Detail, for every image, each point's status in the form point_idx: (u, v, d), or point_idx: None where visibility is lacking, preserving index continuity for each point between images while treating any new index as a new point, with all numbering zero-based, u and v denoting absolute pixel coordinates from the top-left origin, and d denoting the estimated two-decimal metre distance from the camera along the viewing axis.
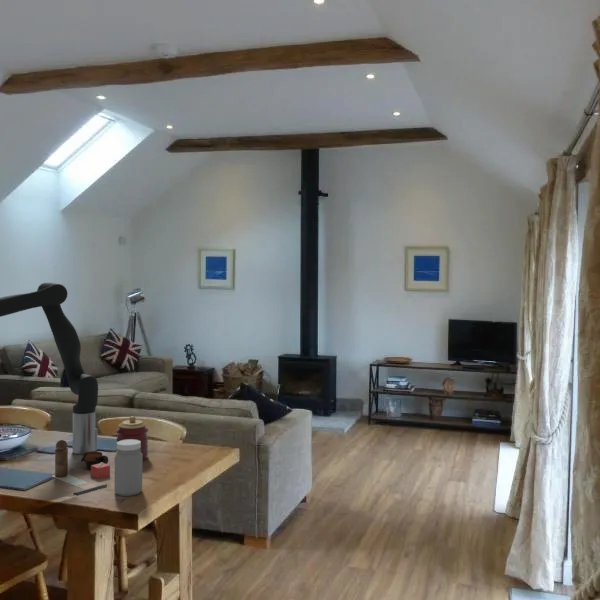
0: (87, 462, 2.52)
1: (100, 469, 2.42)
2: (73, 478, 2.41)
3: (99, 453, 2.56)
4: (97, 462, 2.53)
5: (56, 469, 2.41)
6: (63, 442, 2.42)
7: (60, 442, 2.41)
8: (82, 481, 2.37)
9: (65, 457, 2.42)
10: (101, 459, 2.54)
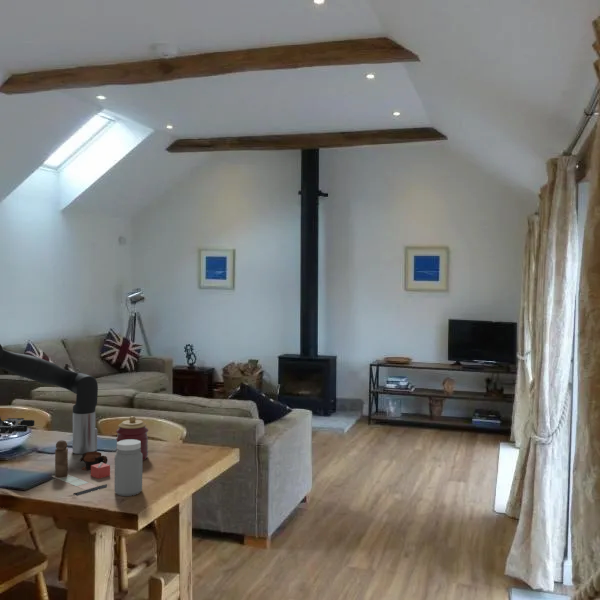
0: (86, 462, 2.51)
1: (100, 469, 2.42)
2: (73, 478, 2.41)
3: (98, 453, 2.56)
4: (96, 462, 2.52)
5: (56, 469, 2.41)
6: (63, 442, 2.42)
7: (60, 442, 2.41)
8: (82, 481, 2.37)
9: (65, 457, 2.42)
10: (100, 459, 2.54)
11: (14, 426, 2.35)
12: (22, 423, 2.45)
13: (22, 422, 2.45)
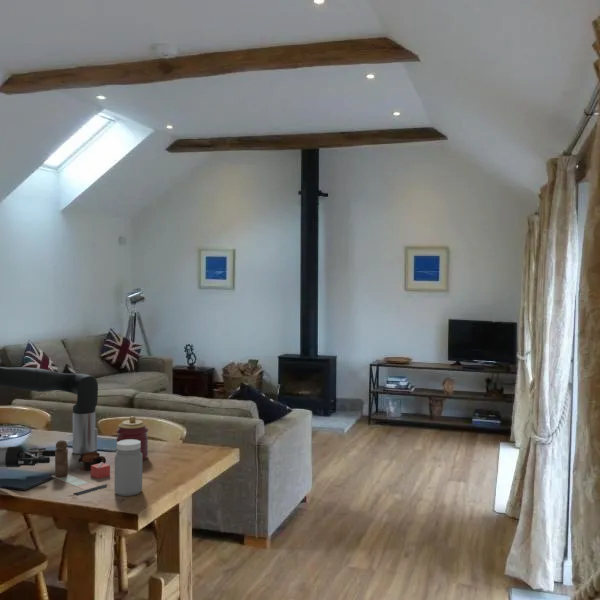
0: (84, 463, 2.50)
1: (100, 469, 2.42)
2: (73, 478, 2.41)
3: (96, 454, 2.55)
4: (94, 463, 2.52)
5: (56, 469, 2.41)
6: (63, 442, 2.42)
7: (60, 442, 2.41)
8: (82, 481, 2.37)
9: (65, 457, 2.42)
10: (98, 460, 2.53)
11: (37, 458, 2.37)
12: (44, 453, 2.46)
13: (44, 452, 2.46)
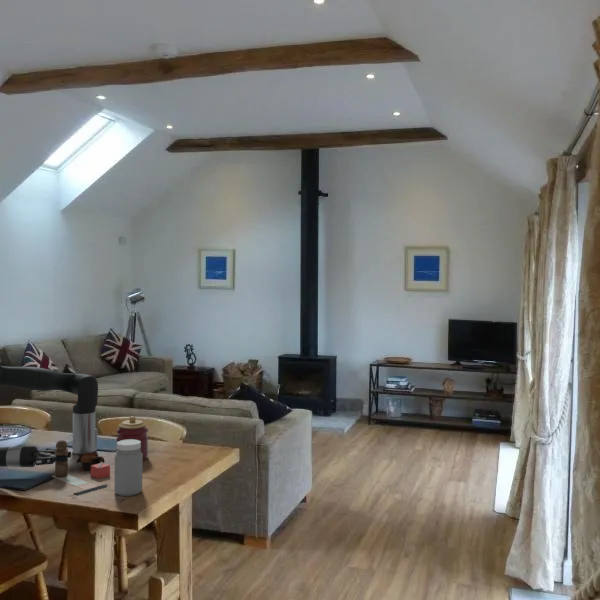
0: (83, 463, 2.50)
1: (100, 469, 2.42)
2: (73, 478, 2.41)
3: (95, 454, 2.54)
4: (93, 463, 2.51)
5: (56, 469, 2.41)
6: (63, 442, 2.42)
7: (60, 442, 2.41)
8: (82, 481, 2.37)
9: None
10: (97, 460, 2.52)
11: (55, 456, 2.39)
12: None
13: None
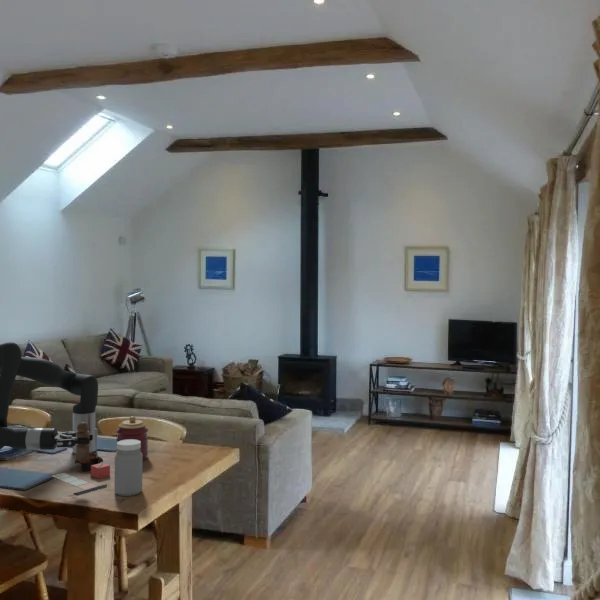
0: (81, 464, 2.49)
1: (100, 469, 2.42)
2: (73, 478, 2.41)
3: (93, 455, 2.54)
4: (92, 464, 2.50)
5: (77, 452, 2.31)
6: (85, 424, 2.31)
7: (82, 424, 2.31)
8: (82, 481, 2.37)
9: None
10: (96, 461, 2.52)
11: (77, 438, 2.29)
12: None
13: None
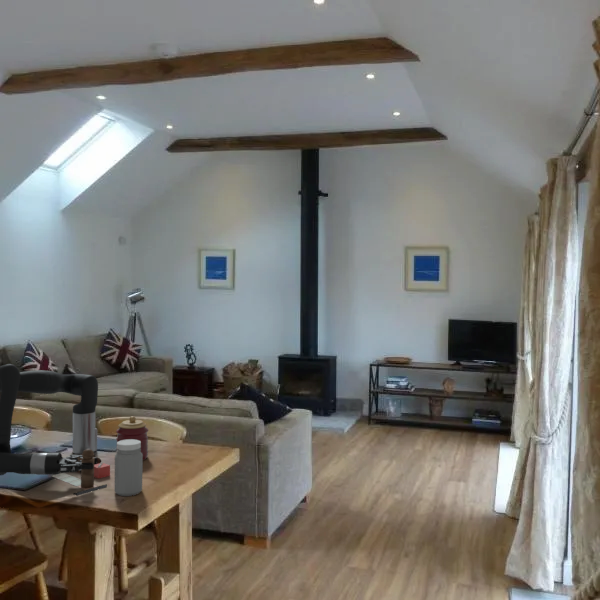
0: None
1: (100, 469, 2.42)
2: (73, 478, 2.41)
3: None
4: None
5: (82, 479, 2.30)
6: (90, 451, 2.31)
7: (87, 451, 2.30)
8: None
9: None
10: None
11: (80, 464, 2.28)
12: None
13: None
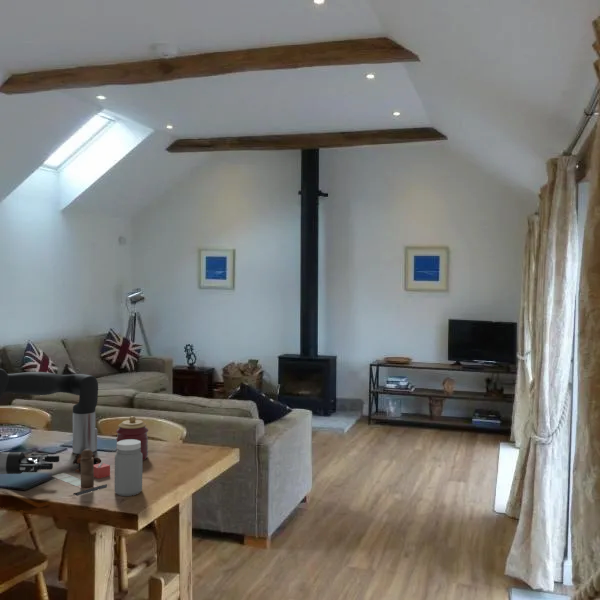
0: (80, 464, 2.48)
1: (100, 469, 2.42)
2: (73, 478, 2.41)
3: None
4: None
5: (82, 479, 2.30)
6: (88, 451, 2.31)
7: (85, 451, 2.30)
8: None
9: (91, 467, 2.31)
10: (94, 461, 2.51)
11: (39, 464, 2.26)
12: (46, 459, 2.35)
13: (46, 458, 2.35)
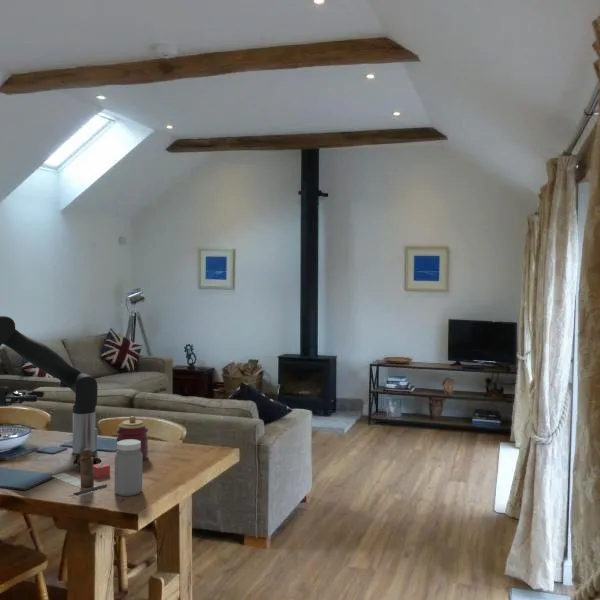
0: None
1: (100, 469, 2.42)
2: (73, 478, 2.41)
3: (92, 455, 2.53)
4: None
5: (81, 479, 2.31)
6: (88, 451, 2.31)
7: (85, 451, 2.31)
8: None
9: (90, 466, 2.31)
10: (94, 461, 2.51)
11: (24, 396, 2.41)
12: (32, 394, 2.50)
13: (32, 393, 2.50)
